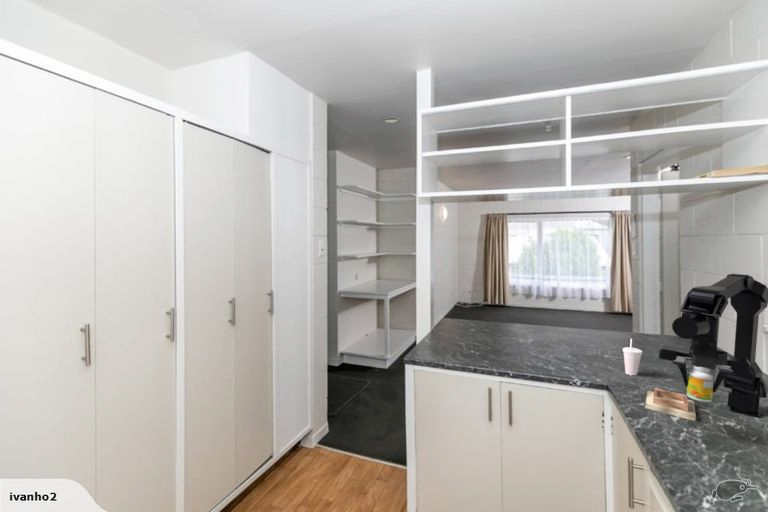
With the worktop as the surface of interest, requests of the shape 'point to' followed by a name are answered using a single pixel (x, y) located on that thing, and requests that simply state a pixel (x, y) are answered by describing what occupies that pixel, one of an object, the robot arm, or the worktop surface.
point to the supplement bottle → (700, 384)
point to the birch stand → (670, 403)
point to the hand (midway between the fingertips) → (699, 388)
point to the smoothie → (631, 359)
